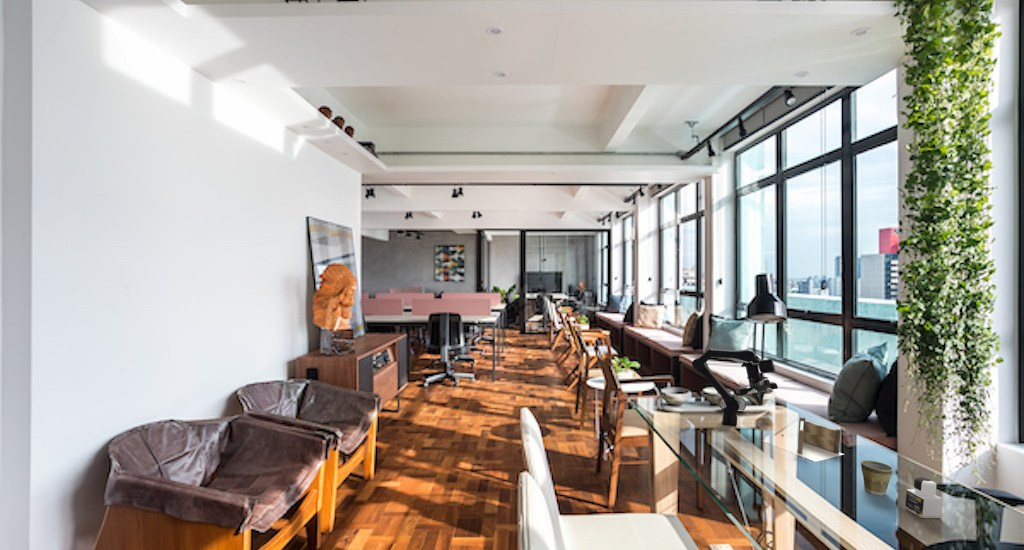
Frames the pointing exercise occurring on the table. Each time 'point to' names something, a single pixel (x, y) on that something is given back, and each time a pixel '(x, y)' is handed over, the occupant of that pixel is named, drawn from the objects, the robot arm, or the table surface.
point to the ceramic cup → (876, 476)
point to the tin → (722, 404)
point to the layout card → (816, 452)
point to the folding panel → (800, 438)
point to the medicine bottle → (924, 498)
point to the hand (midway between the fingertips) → (760, 405)
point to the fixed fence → (821, 435)
